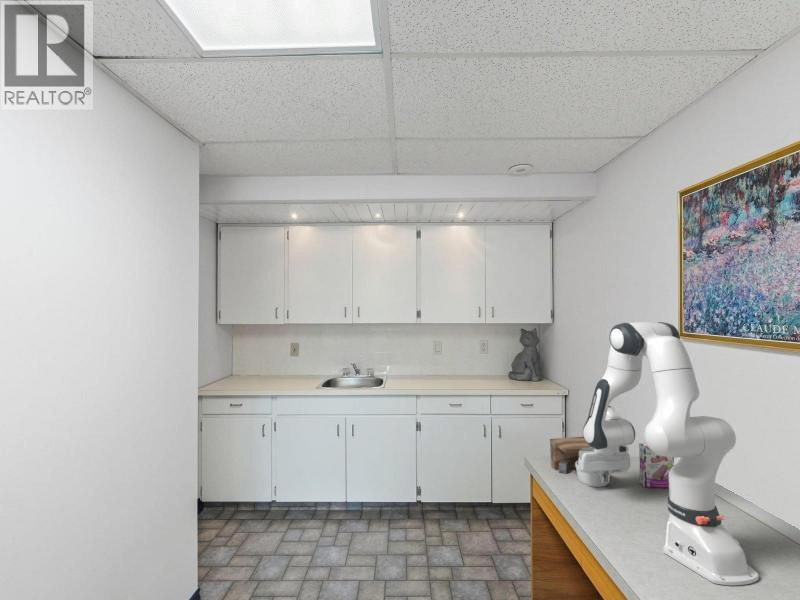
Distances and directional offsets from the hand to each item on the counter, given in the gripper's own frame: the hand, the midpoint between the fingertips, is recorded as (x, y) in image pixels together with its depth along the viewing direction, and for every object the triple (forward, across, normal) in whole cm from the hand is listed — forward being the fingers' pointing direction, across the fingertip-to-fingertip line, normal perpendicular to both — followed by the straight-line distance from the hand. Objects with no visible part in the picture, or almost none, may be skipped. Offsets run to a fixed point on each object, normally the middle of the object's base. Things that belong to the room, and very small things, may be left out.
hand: (604, 481), depth 161 cm
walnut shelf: (+3, 0, +18) cm, 19 cm away
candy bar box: (+3, +22, -1) cm, 22 cm away
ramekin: (+3, 0, +7) cm, 8 cm away
